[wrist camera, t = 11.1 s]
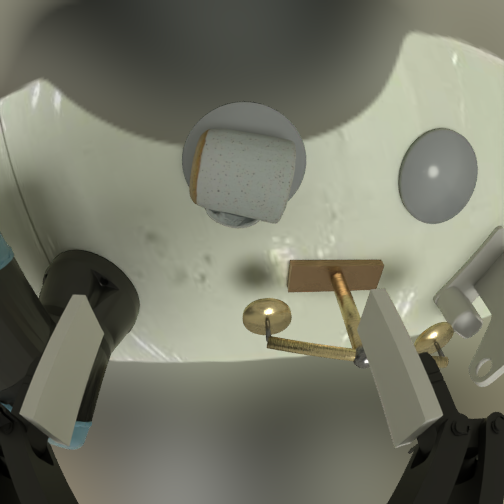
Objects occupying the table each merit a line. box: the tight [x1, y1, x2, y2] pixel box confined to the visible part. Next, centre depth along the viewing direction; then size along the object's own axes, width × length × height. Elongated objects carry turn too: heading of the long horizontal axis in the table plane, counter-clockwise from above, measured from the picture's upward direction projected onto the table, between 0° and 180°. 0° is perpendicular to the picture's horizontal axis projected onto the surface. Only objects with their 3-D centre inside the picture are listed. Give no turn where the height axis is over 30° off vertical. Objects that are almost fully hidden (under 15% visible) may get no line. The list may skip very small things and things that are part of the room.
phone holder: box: [433, 226, 504, 387], centre depth 30 cm, size 17×10×18 cm, turn 147°
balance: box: [243, 260, 454, 368], centre depth 29 cm, size 23×5×16 cm, turn 89°
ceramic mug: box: [190, 129, 296, 228], centre depth 25 cm, size 10×8×7 cm
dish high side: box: [399, 129, 478, 224], centre depth 28 cm, size 12×12×1 cm
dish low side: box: [182, 101, 306, 216], centre depth 28 cm, size 12×12×1 cm
